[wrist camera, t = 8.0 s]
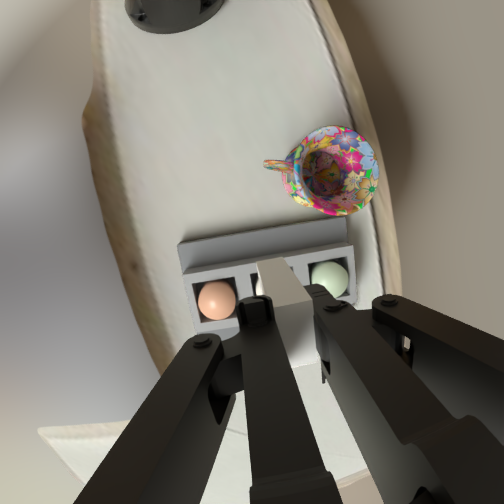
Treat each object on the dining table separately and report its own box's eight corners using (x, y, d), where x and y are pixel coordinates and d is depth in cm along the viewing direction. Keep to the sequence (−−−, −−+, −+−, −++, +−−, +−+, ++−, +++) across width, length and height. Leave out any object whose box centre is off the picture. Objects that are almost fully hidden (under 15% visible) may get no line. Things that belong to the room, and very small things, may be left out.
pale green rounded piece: (305, 261, 39) (312, 267, 35) (337, 255, 39) (347, 261, 36) (309, 293, 40) (316, 302, 36) (340, 286, 40) (349, 294, 36)
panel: (179, 242, 40) (172, 249, 35) (340, 216, 40) (354, 219, 36) (200, 337, 42) (197, 354, 37) (348, 310, 43) (361, 323, 38)
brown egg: (197, 280, 38) (194, 288, 35) (231, 274, 39) (231, 282, 35) (204, 311, 39) (202, 322, 36) (237, 306, 39) (238, 316, 36)
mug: (346, 147, 39) (381, 134, 28) (341, 213, 40) (375, 220, 30) (260, 135, 38) (270, 115, 27) (254, 205, 39) (262, 208, 29)
